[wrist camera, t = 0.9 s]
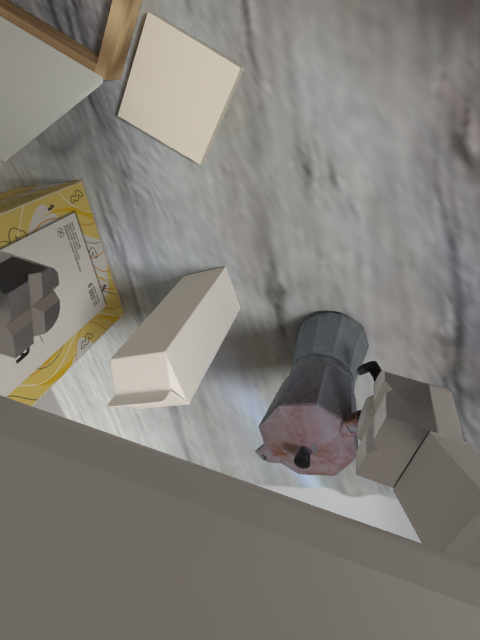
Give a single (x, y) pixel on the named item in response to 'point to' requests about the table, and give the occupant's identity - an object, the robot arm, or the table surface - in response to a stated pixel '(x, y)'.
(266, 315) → the table surface
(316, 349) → the moka pot
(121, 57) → the cold frame
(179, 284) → the milk
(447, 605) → the robot arm
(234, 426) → the table surface
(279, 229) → the table surface
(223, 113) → the tile
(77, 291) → the pasta box
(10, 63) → the propped lid
